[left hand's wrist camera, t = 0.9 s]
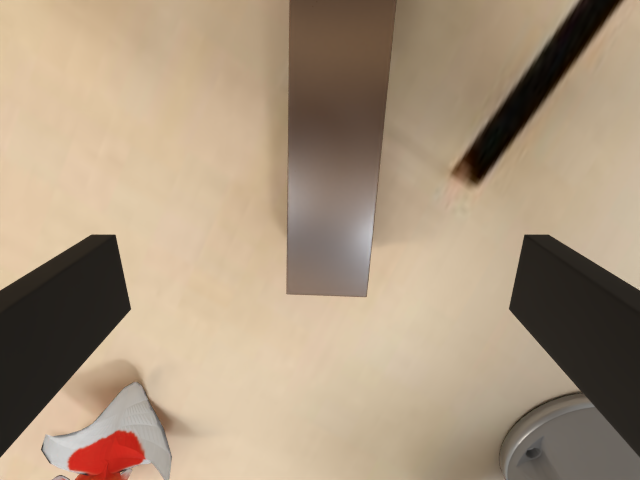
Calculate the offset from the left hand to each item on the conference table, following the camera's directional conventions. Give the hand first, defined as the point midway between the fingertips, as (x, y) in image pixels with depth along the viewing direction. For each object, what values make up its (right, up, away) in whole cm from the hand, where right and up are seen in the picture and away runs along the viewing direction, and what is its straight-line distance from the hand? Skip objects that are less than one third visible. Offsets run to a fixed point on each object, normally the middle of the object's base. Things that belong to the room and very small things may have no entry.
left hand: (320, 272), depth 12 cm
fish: (-20, -18, +26) cm, 37 cm away
